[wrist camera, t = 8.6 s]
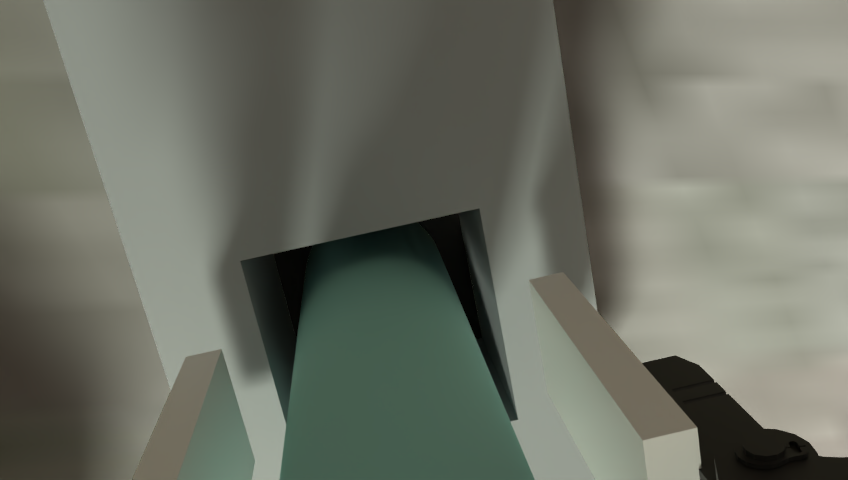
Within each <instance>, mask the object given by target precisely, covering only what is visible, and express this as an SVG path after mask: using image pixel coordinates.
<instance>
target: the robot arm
mask: <svg viewBox="0 0 848 480" xmlns="http://www.w3.org/2000/svg"><path fill="white" fill-rule="evenodd" d="M529 285H530V291H531V297H532V303H533V309H534V315H535V321H536V327H537V332H538V338H539V344H540V350H541V356H542V362H543V368H544V374H545V380H546V386H547V392H548V394H549V396H550V398H551V400H552V402H553V403H554V405H555V407H556V409H557V411H558V413H559V414H560V416H561V418H562V420H563V422H564V424H565V425H566V427H567V429H568V431H569V433H570V434H571V436H572V438H573V440H574V442H575V444H576V445H577V447H578V449H579V451H580V453H581V454H582V456H583V458H584V460H585V462H586V464H587V465H588V467H589V469H590V471H591V473H592V474H593V476H594V478H595V480H848V457H844V458H839V457H822V456H818V453H817V452H816V451H815V449H814V448H813V447H812V446H811V444H810V443H809V442H807V441H806V440H804V439H802V438H800V437H799V436H797V435H795V434H792V433H788V432H784V431H781V430H777V429H763V428H762V427H761V426H760V425H759V424H758V423H757V422H756V421H755V420H754V419H753V418H752V417H751V416H750V415H749V414H748V413H747V412H746V411H745V410H744V409H743V408H742V407H741V406H740V405H739V404H738V403H737V402H736V401H735V400H734V399H733V398H732V397H731V396H730V395H729V394H727V395H726V392H725V390H724V389H723V388H722V387H721V386H720V385H719V384H718V383H717V382H716V383H714V379H712V378H711V377H710V376H709V375H708V374H707V373H706V372H705V371H704V370H703V369H702V368H701V367H700V366H699V365H697V364H695V363H692V362H690V361H687V360H685V359H683V358H680V357H678V356H671V357H667V358H662V359H658V360H654V361H649V362H645V363H641V362H640V361H639V359H638V358H637V357H636V356H635V355H634V354H633V352H632V351H631V350H630V349H629V348H628V347H627V345H626V344H625V343H624V342H623V341H622V340H621V338H620V337H619V336H618V335H617V334H616V333H615V332H614V330H613V329H612V328H611V327H610V326H609V325H608V323H607V322H606V321H605V320H604V319H603V318H602V316H601V315H600V314H599V313H598V312H597V311H596V310H595V308H594V307H593V306H592V305H591V304H590V303H589V301H588V300H587V299H586V298H585V297H584V296H583V294H582V293H581V292H580V291H579V290H578V289H577V288H576V286H575V285H574V284H573V283H572V282H571V281H570V279H569V278H568V277H567V276H566V275H565V274H564V272H561V273H557V274H552V275H548V276H543V277H539V278H535V279H530V280H529ZM254 464H255V458H254V455H253V452H252V448H251V445H250V442H249V438H248V435H247V432H246V428H245V425H244V422H243V418H242V415H241V412H240V408H239V405H238V402H237V398H236V395H235V392H234V388H233V385H232V382H231V378H230V375H229V372H228V368H227V365H226V362H225V358H224V355H223V352H222V349H219V350H214V351H210V352H206V353H201V354H197V355H192V356H188V357H185V360H184V362H183V364H182V367H181V369H180V371H179V373H178V376H177V378H176V380H175V383H174V385H173V387H172V389H171V392H170V394H169V396H168V399H167V401H166V403H165V405H164V408H163V410H162V412H161V415H160V417H159V419H158V421H157V424H156V426H155V428H154V431H153V433H152V435H151V438H150V440H149V442H148V444H147V447H146V449H145V451H144V454H143V456H142V458H141V460H140V463H139V465H138V467H137V470H136V472H135V474H134V476H133V479H132V480H252V475H253V470H254Z"/></svg>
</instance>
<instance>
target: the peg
mask: <svg viewBox="0 0 848 480" xmlns="http://www.w3.org/2000/svg"><path fill="white" fill-rule="evenodd" d="M279 480H535V479H534V477H533V474H532V472H531V470H530V467H529V465H528V462H527V460H526V458H525V455H524V453H523V450H522V448H521V446H520V443H519V441H518V439H517V436H516V434H515V431H514V429H513V427H512V424H511V422H510V420H509V417H508V415H507V412H506V410H505V408H504V405H503V403H502V400H501V398H500V396H499V393H498V391H497V389H496V386H495V384H494V381H493V379H492V377H491V374H490V372H489V369H488V367H487V365H486V362H485V360H484V358H483V355H482V353H481V350H480V348H479V346H478V343H477V341H476V338H475V336H474V334H473V331H472V329H471V327H470V324H469V322H468V319H467V317H466V315H465V312H464V310H463V307H462V305H461V303H460V300H459V298H458V296H457V293H456V291H455V288H454V286H453V284H452V281H451V279H450V277H449V274H448V272H447V269H446V267H445V265H444V262H443V260H442V257H441V255H440V253H439V250H438V248H437V246H436V244H435V242H434V240H433V239H432V237H431V236H430V235H429V233H428V232H427V231H426V230H425V229H424V228H423V227H422V226H421V225H420V224H418V223H417V222H415V223H410V224H406V225H401V226H397V227H392V228H388V229H383V230H378V231H374V232H369V233H365V234H360V235H356V236H351V237H347V238H342V239H338V240H333V241H328V242H324V243H319V244H315V245H313V246H312V248H311V251H310V253H309V256H308V259H307V264H306V270H305V278H304V286H303V294H302V303H301V311H300V319H299V327H298V335H297V343H296V351H295V359H294V367H293V375H292V383H291V391H290V399H289V407H288V415H287V423H286V431H285V439H284V447H283V455H282V463H281V471H280V479H279Z"/></svg>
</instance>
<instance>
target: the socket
mask: <svg viewBox="0 0 848 480" xmlns="http://www.w3.org/2000/svg"><path fill="white" fill-rule="evenodd" d="M43 1H44V4H45V7H46V10H47V13H48V16H49V19H50V22H51V26H52V29H53V32H54V35H55V38H56V41H57V44H58V47H59V50H60V53H61V56H62V59H63V62H64V65H65V68H66V71H67V75H68V78H69V81H70V84H71V87H72V90H73V93H74V96H75V99H76V102H77V105H78V108H79V111H80V114H81V117H82V120H83V123H84V127H85V130H86V133H87V136H88V139H89V142H90V145H91V148H92V151H93V154H94V157H95V160H96V163H97V166H98V169H99V172H100V176H101V179H102V182H103V185H104V188H105V191H106V194H107V197H108V200H109V203H110V206H111V209H112V212H113V215H114V218H115V221H116V224H117V228H118V231H119V234H120V237H121V240H122V243H123V246H124V249H125V252H126V255H127V258H128V261H129V264H130V267H131V270H132V273H133V277H134V280H135V283H136V286H137V289H138V292H139V295H140V298H141V301H142V304H143V307H144V310H145V313H146V316H147V319H148V322H149V325H150V329H151V332H152V335H153V338H154V341H155V344H156V347H157V350H158V353H159V356H160V359H161V362H162V365H163V368H164V371H165V374H166V378H167V381H168V384H169V387H170V390H171V389H172V387H173V385H174V383H175V380H176V378H177V376H178V373H179V371H180V369H181V367H182V364H183V362H184V360H185V357H188V356H192V355H197V354H201V353H206V352H210V351H214V350H219V349H222V352H223V355H224V358H225V362H226V365H227V368H228V372H229V375H230V378H231V382H232V385H233V388H234V392H235V395H236V398H237V402H238V405H239V408H240V412H241V415H242V418H243V422H244V425H245V428H246V432H247V435H248V438H249V442H250V445H251V448H252V452H253V455H254V458H255V464H254V470H253V475H252V480H279V479H280V471H281V463H282V455H283V447H284V439H285V431H286V423H287V415H288V407H289V399H290V391H291V383H292V375H293V367H294V359H295V351H296V343H297V339H296V336H295V332H294V328H293V324H292V321H291V317H290V313H289V309H288V306H287V302H286V298H285V295H284V291H283V287H282V283H281V280H280V276H279V272H278V268H277V265H276V261H275V257H274V253H279V252H283V251H288V250H292V249H297V248H301V247H306V246H310V245H315V244H319V243H324V242H328V241H333V240H338V239H342V238H347V237H351V236H356V235H360V234H365V233H369V232H374V231H378V230H383V229H388V228H392V227H397V226H401V225H406V224H410V223H415V222H419V221H424V220H428V219H433V218H438V217H442V216H447V215H451V214H456V213H458V215H459V220H460V225H461V230H462V236H463V241H464V246H465V251H466V256H467V262H468V267H469V272H470V277H471V283H472V288H473V293H474V298H475V303H476V309H477V314H478V319H479V324H480V330H481V335H482V338H480V339H476V341H477V343H478V346H479V348H480V350H481V353H482V355H483V358H484V360H485V362H486V365H487V367H488V369H489V372H490V374H491V377H492V379H493V381H494V384H495V386H496V389H497V391H498V393H499V396H500V398H501V400H502V403H503V405H504V408H505V410H506V412H507V415H508V417H509V420H510V422H511V424H512V427H513V429H514V431H515V434H516V436H517V439H518V441H519V443H520V446H521V448H522V450H523V453H524V455H525V458H526V460H527V462H528V465H529V467H530V470H531V472H532V474H533V477H534V479H535V480H595V478H594V476H593V474H592V473H591V471H590V469H589V467H588V465H587V464H586V462H585V460H584V458H583V456H582V454H581V453H580V451H579V449H578V447H577V445H576V444H575V442H574V440H573V438H572V436H571V434H570V433H569V431H568V429H567V427H566V425H565V424H564V422H563V420H562V418H561V416H560V414H559V413H558V411H557V409H556V407H555V405H554V403H553V402H552V400H551V398H550V396H549V394H548V392H547V386H546V380H545V374H544V368H543V362H542V356H541V350H540V344H539V338H538V332H537V327H536V321H535V315H534V309H533V303H532V297H531V291H530V285H529V280H530V279H535V278H539V277H543V276H548V275H552V274H557V273H561V272H564V274H565V275H566V276H567V277H568V278H569V279H570V281H571V282H572V283H573V284H574V285H575V286H576V288H577V289H578V290H579V291H580V292H581V293H582V294H583V296H584V297H585V298H586V299H587V300H588V301H589V303H590V304H591V305H592V306H593V307H594V308H595V310H596V311H597V305H596V298H595V291H594V284H593V277H592V270H591V263H590V256H589V249H588V242H587V235H586V228H585V221H584V214H583V207H582V200H581V193H580V186H579V179H578V171H577V164H576V157H575V150H574V143H573V136H572V129H571V122H570V115H569V108H568V101H567V94H566V87H565V80H564V73H563V66H562V59H561V52H560V45H559V38H558V31H557V24H556V17H555V10H554V3H553V0H43Z"/></svg>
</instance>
